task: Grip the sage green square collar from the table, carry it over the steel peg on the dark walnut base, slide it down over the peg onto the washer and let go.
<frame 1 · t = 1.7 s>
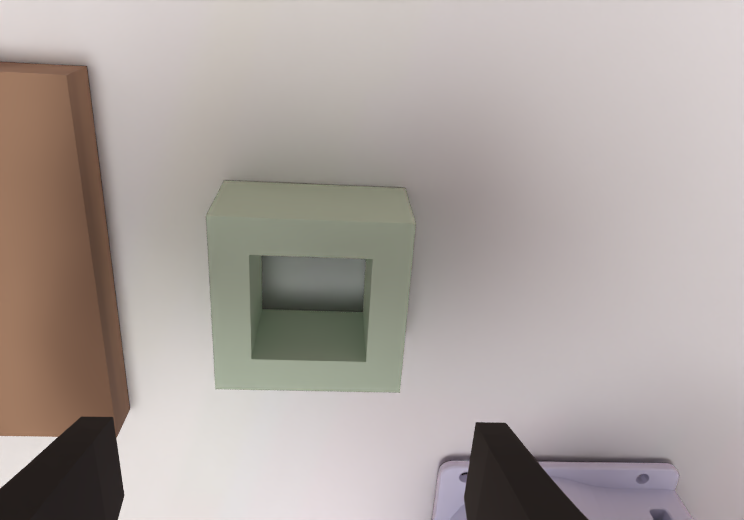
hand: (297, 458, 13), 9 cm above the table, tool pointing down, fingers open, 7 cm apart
collar: (313, 265, 21), on the table
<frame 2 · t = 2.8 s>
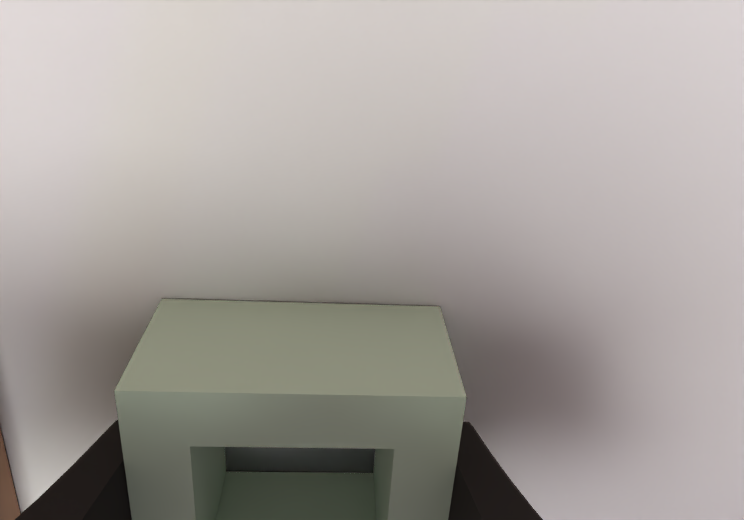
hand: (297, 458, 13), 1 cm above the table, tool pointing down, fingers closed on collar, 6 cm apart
collar: (301, 413, 14), on the table, touching gripper
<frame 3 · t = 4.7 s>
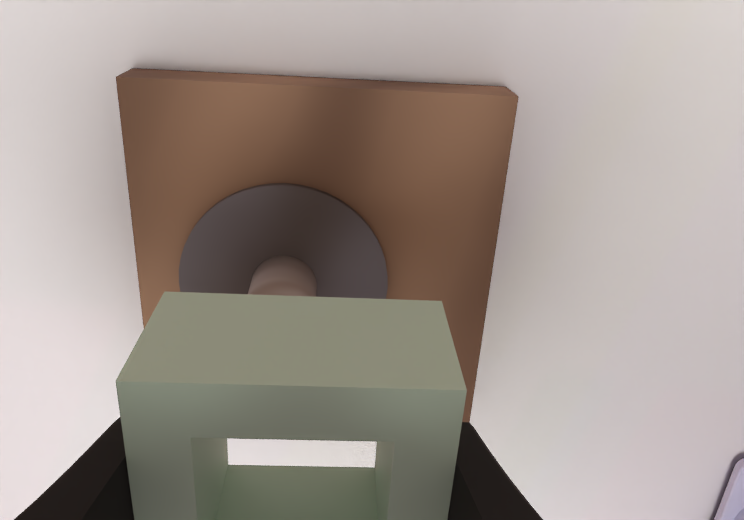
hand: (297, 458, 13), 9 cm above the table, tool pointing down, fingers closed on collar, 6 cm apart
peg base: (318, 261, 21), on the table
collar: (302, 407, 14), point 8 cm above the table, touching gripper
when the fingers open (4 cm above the table, at t = 6.8 s): collar stays where it is, resting on peg base.
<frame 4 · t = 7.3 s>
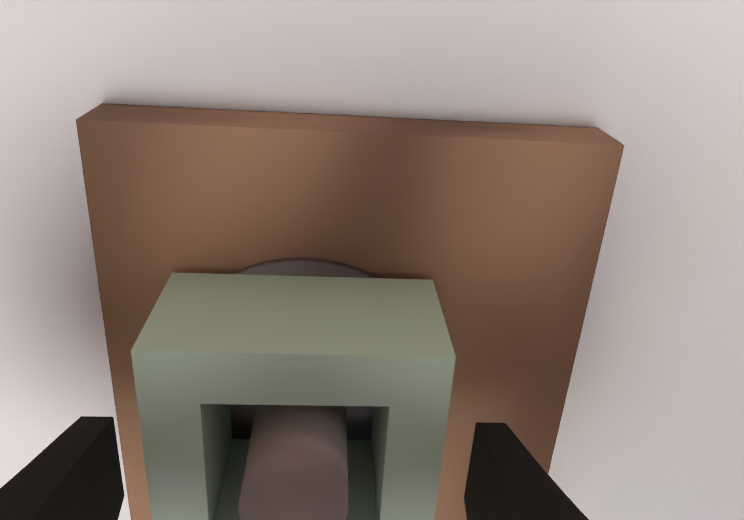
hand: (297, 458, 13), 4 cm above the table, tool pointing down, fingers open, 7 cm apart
peg base: (345, 345, 17), on the table
collar: (302, 382, 15), point 2 cm above the table, touching peg base
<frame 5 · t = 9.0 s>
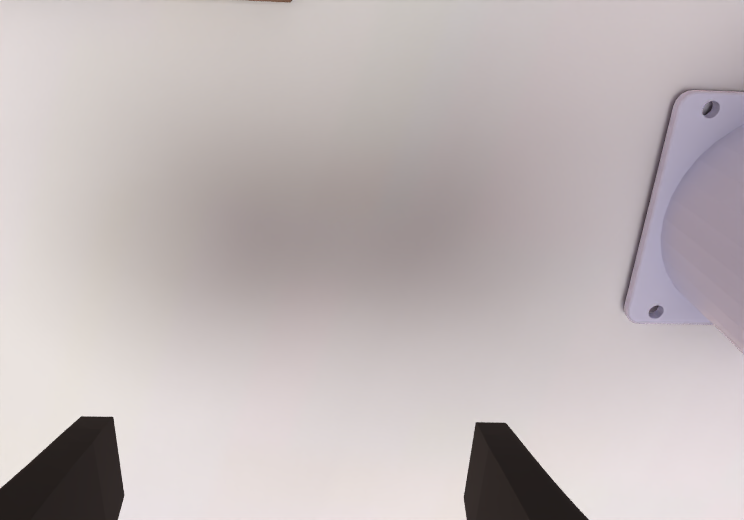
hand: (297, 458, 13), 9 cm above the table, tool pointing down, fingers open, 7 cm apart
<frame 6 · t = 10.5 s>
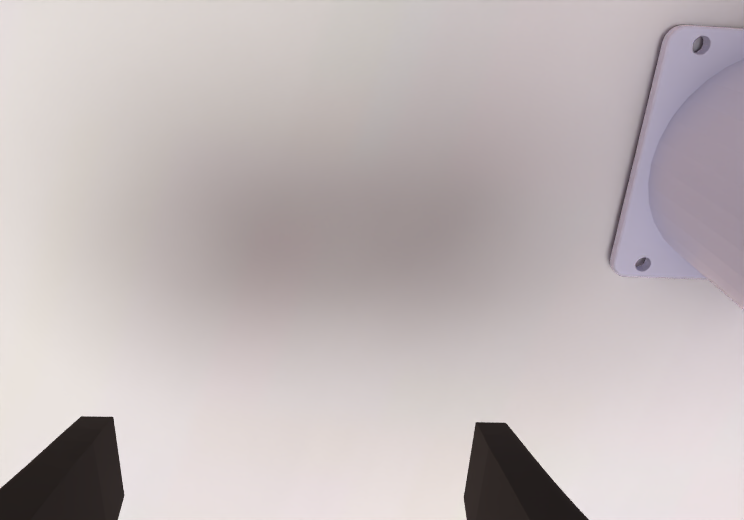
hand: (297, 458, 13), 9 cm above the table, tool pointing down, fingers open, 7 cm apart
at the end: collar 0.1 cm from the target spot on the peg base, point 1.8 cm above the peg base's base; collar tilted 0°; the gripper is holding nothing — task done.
